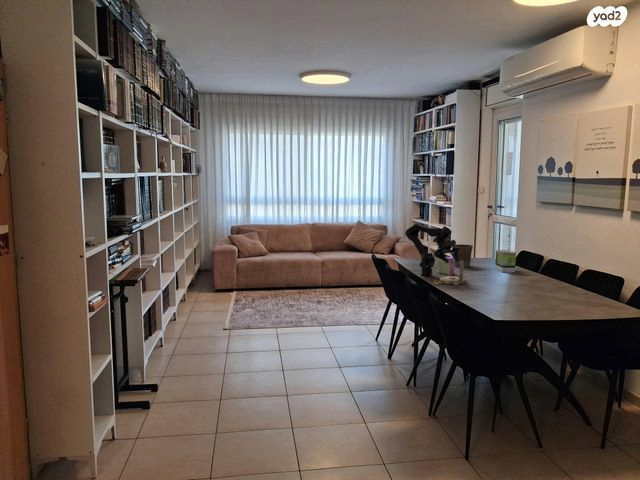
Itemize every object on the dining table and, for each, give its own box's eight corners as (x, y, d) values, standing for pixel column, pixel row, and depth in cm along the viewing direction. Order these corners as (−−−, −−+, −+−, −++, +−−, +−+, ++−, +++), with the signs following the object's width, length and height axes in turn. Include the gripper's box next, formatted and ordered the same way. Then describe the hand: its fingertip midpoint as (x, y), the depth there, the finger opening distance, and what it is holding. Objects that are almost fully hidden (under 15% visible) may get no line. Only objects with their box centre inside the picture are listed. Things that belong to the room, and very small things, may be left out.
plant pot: (446, 265, 387) (447, 244, 385) (462, 263, 394) (463, 243, 392) (460, 268, 373) (461, 247, 371) (477, 266, 379) (477, 246, 377)
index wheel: (430, 280, 328) (430, 258, 326) (453, 277, 337) (454, 255, 336) (450, 286, 311) (451, 262, 309) (474, 282, 321) (475, 259, 319)
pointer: (435, 284, 316) (435, 281, 316) (433, 284, 318) (433, 280, 318) (441, 284, 318) (441, 280, 318) (438, 283, 320) (438, 280, 320)
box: (454, 273, 352) (454, 257, 351) (449, 274, 349) (450, 258, 347) (442, 271, 360) (442, 255, 359) (437, 272, 357) (437, 256, 355)
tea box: (515, 272, 356) (516, 252, 354) (501, 272, 356) (502, 252, 354) (508, 268, 371) (508, 249, 369) (494, 268, 371) (495, 249, 369)
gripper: (437, 236, 320) (448, 255, 312) (458, 235, 329) (470, 253, 321) (428, 247, 328) (439, 266, 320) (450, 245, 337) (461, 263, 329)
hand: (453, 262), depth 322 cm, fingers open, 9 cm apart
